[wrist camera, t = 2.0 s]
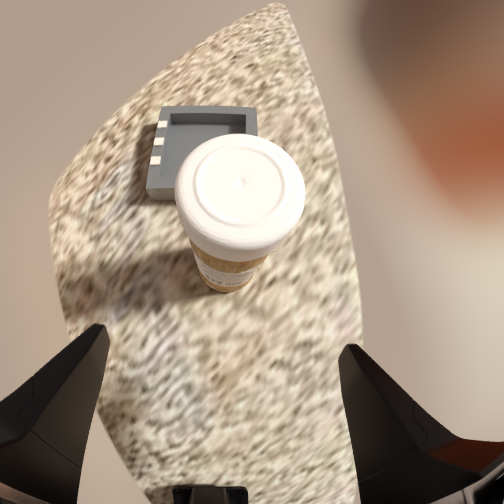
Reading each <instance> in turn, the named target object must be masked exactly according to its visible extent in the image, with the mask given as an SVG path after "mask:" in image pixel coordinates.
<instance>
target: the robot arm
mask: <svg viewBox="0 0 504 504" xmlns="http://www.w3.org/2000/svg"><path fill="white" fill-rule="evenodd" d="M109 346H110V339H109V336H108V332H107V329H106V326H105V325H103V324H98V323H95V324H93V325H92V326H90V327H89V328H88V329H87V330H86V331H84V332H83V333H82V334H81V335H80V336H78V337H77V338H76V339H75V340H74V341H72V342H71V343H70V344H69V345H68V346H66V347H65V348H64V349H63V350H62V351H61V352H60V353H58V354H57V355H56V356H55V357H53V358H52V359H51V360H50V361H49V362H48V363H47V364H45V365H44V366H43V367H42V368H41V369H40V370H39V371H37V372H36V373H35V374H34V376H32V377H31V378H29V379H28V380H27V381H26V382H25V383H24V384H22V385H21V386H20V387H19V388H18V389H16V390H15V391H14V392H13V393H11V394H10V395H9V396H7V397H6V398H4V399H3V400H2V401H0V504H77V496H78V489H79V482H80V476H81V468H82V463H83V458H84V453H85V448H86V443H87V439H88V435H89V430H90V426H91V422H92V418H93V414H94V410H95V406H96V403H97V399H98V395H99V392H100V388H101V385H102V381H103V377H104V372H105V366H106V361H107V356H108V351H109ZM338 364H339V373H340V382H341V392H342V398H343V403H344V408H345V413H346V418H347V423H348V428H349V433H350V438H351V444H352V449H353V455H354V460H355V466H356V472H357V479H358V486H359V493H360V500H361V504H504V442H489V441H478V440H468V439H462V438H460V437H458V436H456V435H454V434H452V433H451V432H450V431H449V430H448V429H446V428H445V427H444V426H443V425H441V424H440V423H439V422H438V421H437V420H435V419H434V418H433V417H431V415H429V414H428V413H427V412H426V411H425V410H424V409H423V408H422V407H421V406H420V405H418V403H417V402H415V401H413V399H412V398H411V397H410V396H409V395H408V394H407V393H406V392H405V391H404V390H403V389H402V388H401V387H400V386H399V385H398V384H397V383H396V382H395V381H394V380H393V379H392V378H391V377H390V376H389V375H388V374H387V373H386V372H385V371H384V370H383V369H382V368H381V367H380V366H379V365H378V364H377V363H376V362H375V361H374V360H373V359H372V358H371V357H370V356H369V355H368V354H367V353H366V352H365V351H364V350H363V349H362V348H361V347H360V346H358V345H357V344H347V345H346V346H345V347H344V349H343V351H342V353H341V354H340V356H339V359H338ZM176 490H179V491H180V492H177V491H176ZM240 491H244V492H240ZM172 493H173V498H174V503H175V504H248V491H247V488H245V487H184V486H175V487H173V490H172Z"/></svg>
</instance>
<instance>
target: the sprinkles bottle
mask: <svg viewBox="0 0 504 504" xmlns="http://www.w3.org/2000/svg"><path fill="white" fill-rule="evenodd" d="M175 201H176V206H177V210H178V214H179V217H180V220H181V224H182V226H183V228H184V230H185V232H186V234H187V235H188V237H189V239H190V244H191V247H192V250H193V253H194V257H195V260H196V263H197V265H198V270H199V274H200V276H201V278H202V280H203V281H204V282H205V283H206V284H207V285H208V286H209V287H211V288H213V289H214V290H217V291H220V292H234V291H236V290H239V289H241V288H243V287H244V286H246V285H247V284H248V283H249V282H250V280H251V278H252V276H253V275H254V273H255V272H256V270H257V269H258V268H259V267H260V266H261V265H262V263H263V262H264V261H265V259H266V257H267V256H268V255H269V253H271V252H273V251H274V250H275V249H277V248H278V247H279V246H280V245H281V244H282V243H283V242H284V241H285V239H286V238H287V237H288V236H289V234H290V233H291V231H292V230H293V229H294V227H295V226H296V224H297V223H298V221H299V219H300V217H301V214H302V212H303V208H304V203H305V185H304V181H303V178H302V175H301V172H300V170H299V168H298V167H297V165H296V163H295V162H294V161H293V159H292V158H291V157H290V156H289V155H288V154H287V153H286V152H285V151H284V150H283V149H281V148H280V147H279V146H277V145H276V144H274V143H272V142H270V141H268V140H266V139H263V138H260V137H257V136H253V135H248V134H228V135H223V136H219V137H216V138H213V139H210V140H208V141H206V142H204V143H202V144H201V145H199V146H198V147H196V148H195V149H194V150H193V151H192V152H191V153H190V154H189V155H188V156H187V157H186V159H185V160H184V161H183V163H182V165H181V166H180V168H179V171H178V174H177V177H176V181H175Z"/></svg>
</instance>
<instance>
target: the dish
mask: <svg viewBox="0 0 504 504" xmlns="http://www.w3.org/2000/svg"><path fill="white" fill-rule="evenodd" d="M228 134H248V135H253V136H257V137H258V134H257V111H256V108H250V107H232V106H165V107H162V108H161V112H160V116H159V120H158V124H157V129H156V134H155V138H154V143H153V148H152V153H151V159H150V164H149V170H148V176H147V182H146V190H147V193H148V195H149V197H150V199H151V200H175V181H176V177H177V174H178V171H179V168H180V166H181V165H182V163H183V161H184V160H185V159H186V157H187V156H188V155H189V154H190V153H191V152H192V151H193V150H194V149H195V148H196V147H198V146H199V145H201V144H202V143H204V142H206V141H208V140H210V139H213V138H216V137H219V136H223V135H228Z"/></svg>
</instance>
